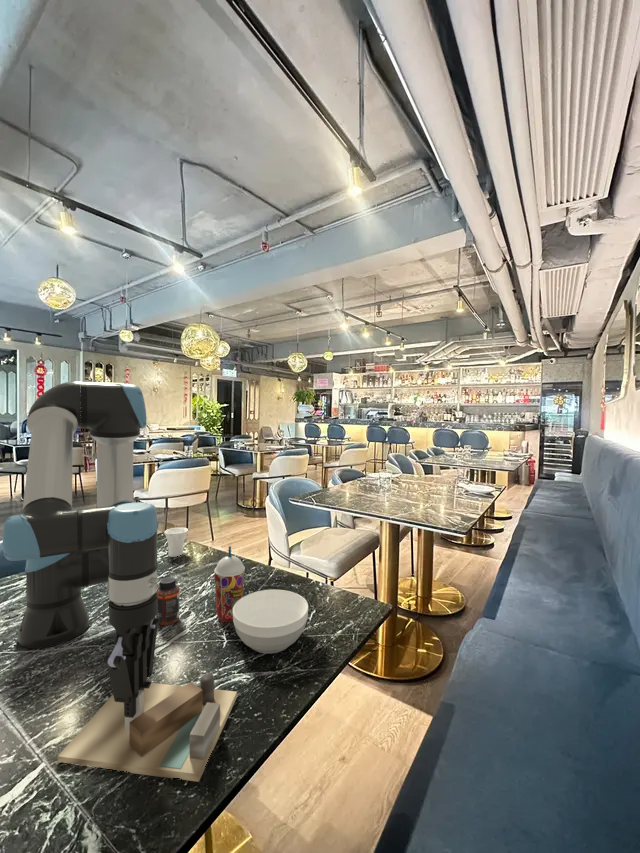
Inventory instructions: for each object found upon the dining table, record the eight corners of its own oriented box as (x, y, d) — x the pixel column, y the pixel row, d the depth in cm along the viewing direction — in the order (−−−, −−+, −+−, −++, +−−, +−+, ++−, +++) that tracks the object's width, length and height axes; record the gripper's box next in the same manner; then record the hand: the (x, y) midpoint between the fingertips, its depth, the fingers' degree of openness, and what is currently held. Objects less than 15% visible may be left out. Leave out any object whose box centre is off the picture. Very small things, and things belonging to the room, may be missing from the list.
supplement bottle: (184, 617, 108) (184, 577, 107) (167, 628, 102) (167, 586, 102) (168, 613, 110) (168, 573, 110) (151, 623, 105) (151, 582, 104)
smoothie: (237, 627, 103) (237, 553, 103) (208, 623, 105) (208, 550, 104) (249, 611, 112) (249, 542, 111) (222, 608, 113) (222, 540, 113)
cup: (159, 558, 150) (159, 532, 150) (172, 549, 160) (172, 525, 159) (180, 560, 149) (180, 534, 149) (192, 551, 158) (192, 527, 158)
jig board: (57, 763, 63) (57, 730, 63) (125, 685, 81) (125, 659, 81) (198, 781, 60) (199, 747, 60) (236, 697, 78) (237, 670, 78)
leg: (190, 702, 75) (190, 681, 75) (202, 710, 73) (202, 689, 73) (129, 745, 65) (129, 722, 65) (141, 756, 63) (141, 732, 63)
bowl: (316, 657, 92) (317, 620, 91) (235, 671, 86) (235, 632, 86) (298, 616, 110) (298, 585, 109) (229, 625, 104) (230, 593, 104)
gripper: (131, 617, 59) (132, 765, 60) (173, 580, 72) (173, 702, 73) (86, 614, 60) (88, 759, 61) (135, 577, 73) (136, 698, 74)
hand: (134, 728), depth 67 cm, fingers closed
